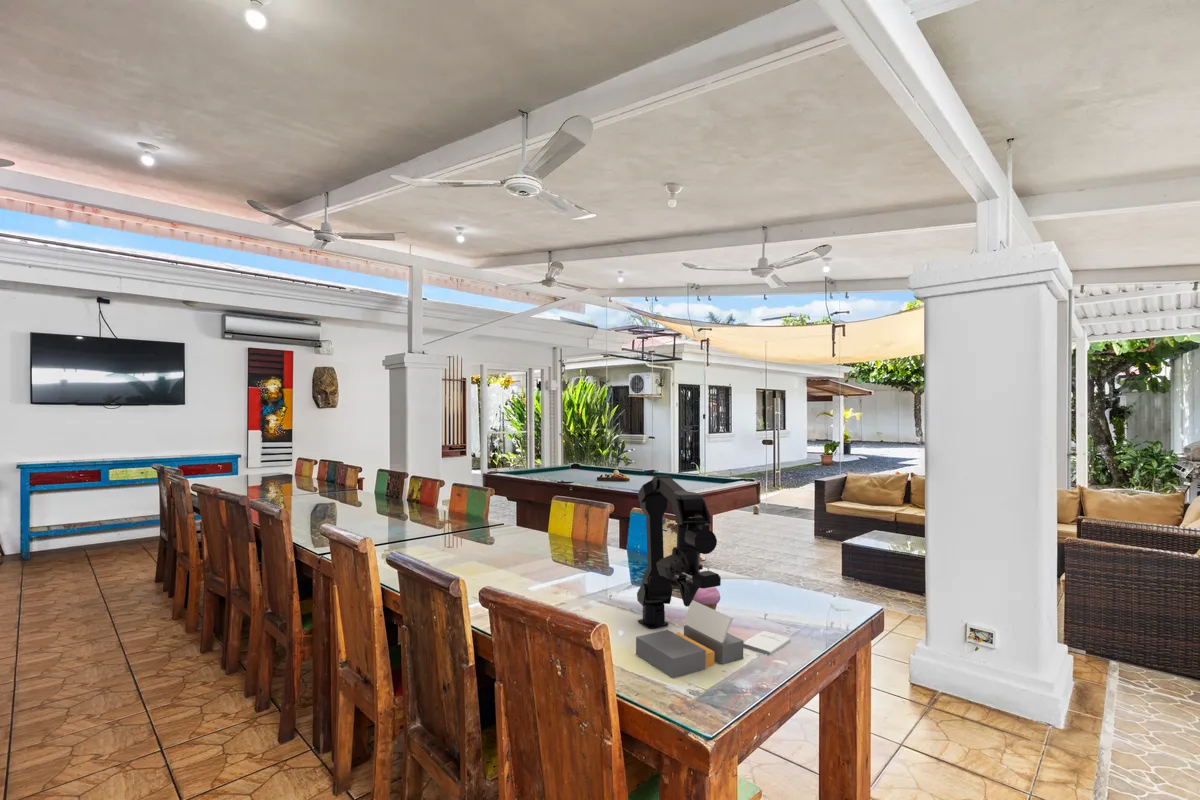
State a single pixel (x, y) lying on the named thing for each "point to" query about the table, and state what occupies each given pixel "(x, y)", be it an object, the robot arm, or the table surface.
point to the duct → (685, 650)
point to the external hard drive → (766, 642)
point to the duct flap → (707, 621)
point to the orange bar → (709, 653)
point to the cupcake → (707, 597)
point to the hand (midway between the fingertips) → (686, 606)
